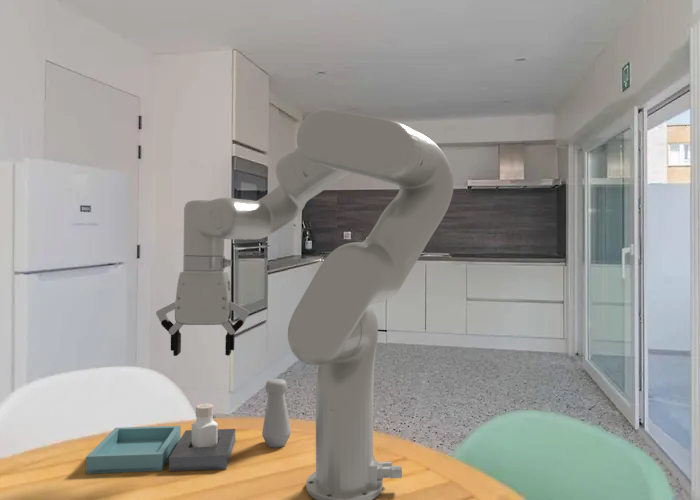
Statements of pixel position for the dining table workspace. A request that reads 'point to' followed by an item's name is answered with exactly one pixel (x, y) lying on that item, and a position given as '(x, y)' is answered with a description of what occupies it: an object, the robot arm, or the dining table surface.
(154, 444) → the tray
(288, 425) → the salt shaker
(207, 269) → the robot arm
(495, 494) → the dining table surface
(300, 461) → the dining table surface
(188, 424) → the dining table surface
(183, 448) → the socket block
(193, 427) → the pepper shaker
